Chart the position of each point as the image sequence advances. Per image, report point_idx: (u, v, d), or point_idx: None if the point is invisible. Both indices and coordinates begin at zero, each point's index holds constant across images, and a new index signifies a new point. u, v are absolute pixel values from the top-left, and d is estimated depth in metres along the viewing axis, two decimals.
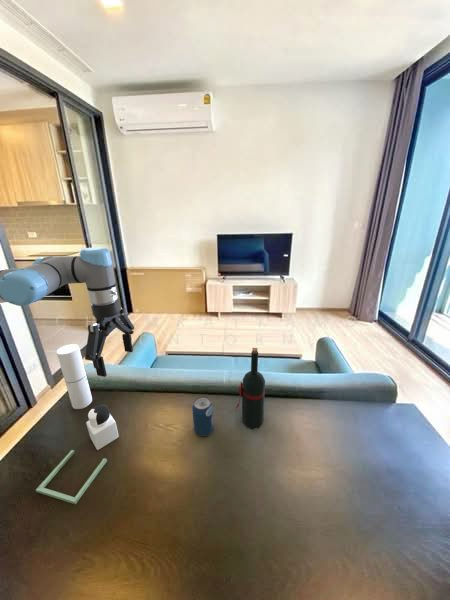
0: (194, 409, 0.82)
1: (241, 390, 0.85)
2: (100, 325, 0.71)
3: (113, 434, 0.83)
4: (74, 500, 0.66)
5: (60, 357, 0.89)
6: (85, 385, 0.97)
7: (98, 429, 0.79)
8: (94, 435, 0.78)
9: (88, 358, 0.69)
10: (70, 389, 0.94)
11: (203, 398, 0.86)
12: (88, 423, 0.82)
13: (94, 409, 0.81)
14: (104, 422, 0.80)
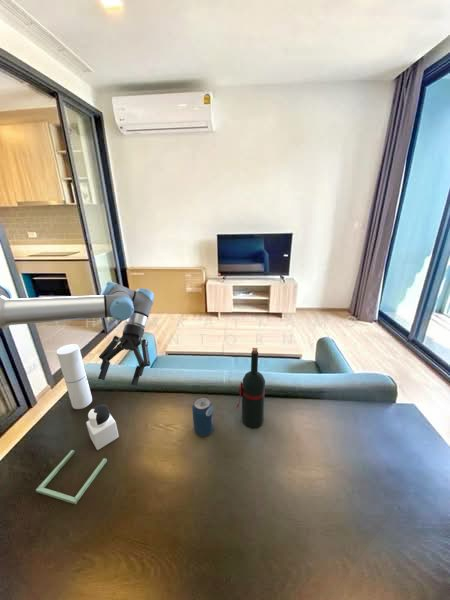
0: (194, 409, 0.82)
1: (241, 390, 0.85)
2: None
3: (113, 434, 0.83)
4: (74, 500, 0.66)
5: (60, 357, 0.89)
6: (85, 385, 0.97)
7: (98, 429, 0.79)
8: (94, 435, 0.78)
9: (148, 363, 0.90)
10: (70, 389, 0.94)
11: (203, 398, 0.86)
12: (88, 423, 0.82)
13: (94, 409, 0.81)
14: (104, 422, 0.80)
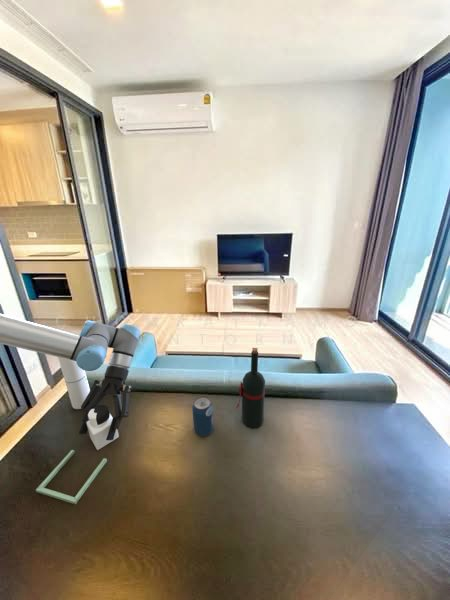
0: (194, 409, 0.82)
1: (241, 390, 0.85)
2: None
3: None
4: (74, 500, 0.66)
5: (60, 357, 0.89)
6: (85, 385, 0.97)
7: (98, 429, 0.79)
8: (94, 435, 0.78)
9: (126, 414, 0.82)
10: (70, 389, 0.94)
11: (203, 398, 0.86)
12: (88, 423, 0.82)
13: (94, 409, 0.81)
14: (104, 422, 0.80)
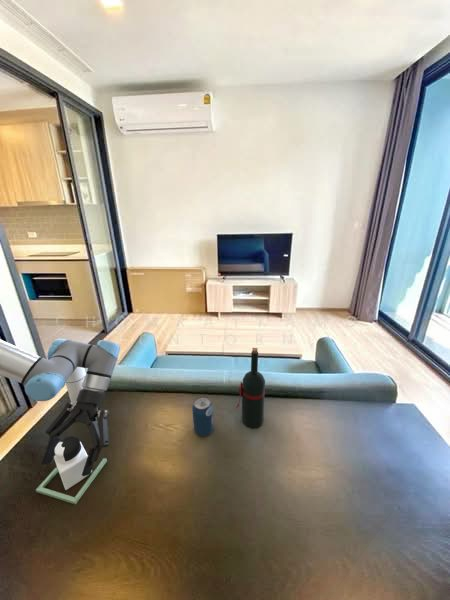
0: (194, 409, 0.82)
1: (241, 390, 0.85)
2: None
3: None
4: (74, 500, 0.66)
5: None
6: None
7: (66, 466, 0.68)
8: (61, 474, 0.67)
9: (106, 444, 0.71)
10: (70, 389, 0.94)
11: (203, 398, 0.86)
12: (55, 458, 0.71)
13: (62, 442, 0.70)
14: (73, 458, 0.69)
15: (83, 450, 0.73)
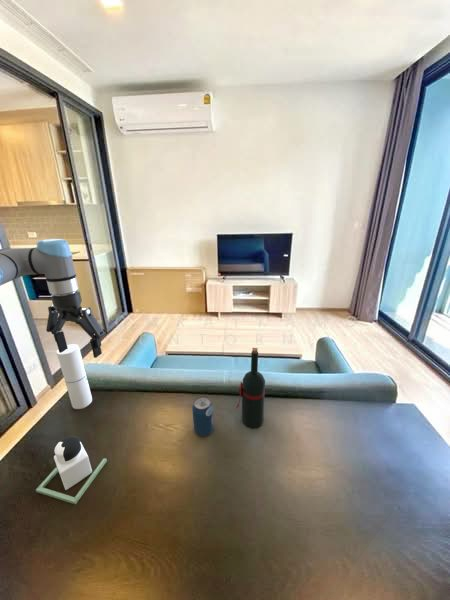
0: (194, 409, 0.82)
1: (241, 390, 0.85)
2: None
3: (85, 470, 0.72)
4: (74, 500, 0.66)
5: (60, 357, 0.89)
6: (85, 385, 0.97)
7: (66, 466, 0.68)
8: (61, 474, 0.67)
9: (101, 334, 0.77)
10: (70, 389, 0.94)
11: (203, 398, 0.86)
12: (55, 458, 0.71)
13: (62, 442, 0.70)
14: (73, 458, 0.69)
15: (83, 450, 0.73)
